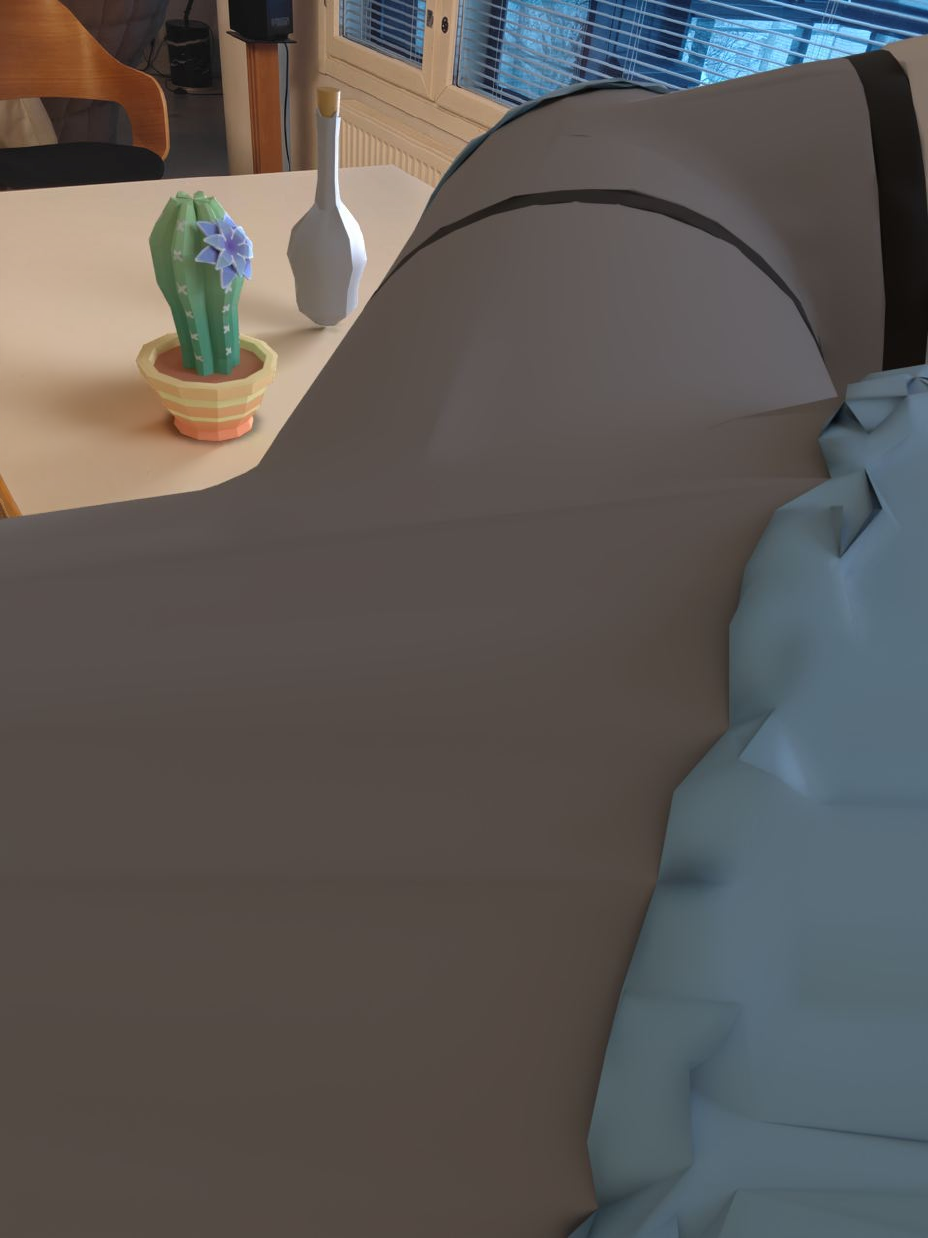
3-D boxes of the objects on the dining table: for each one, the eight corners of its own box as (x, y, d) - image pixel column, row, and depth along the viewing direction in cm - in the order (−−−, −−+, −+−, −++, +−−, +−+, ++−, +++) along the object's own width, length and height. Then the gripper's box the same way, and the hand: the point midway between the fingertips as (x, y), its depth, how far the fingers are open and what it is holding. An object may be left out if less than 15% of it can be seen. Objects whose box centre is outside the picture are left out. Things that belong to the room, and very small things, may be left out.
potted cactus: (149, 460, 93) (114, 218, 77) (140, 394, 104) (107, 168, 88) (292, 450, 98) (287, 220, 82) (269, 388, 109) (261, 173, 93)
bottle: (351, 309, 131) (357, 81, 111) (376, 340, 123) (387, 101, 104) (278, 313, 127) (271, 76, 107) (299, 345, 119) (296, 97, 100)
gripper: (-243, 737, 23) (203, 750, 43) (610, 1369, 15) (668, 1023, 35) (-117, 485, 23) (268, 615, 43) (789, 978, 15) (745, 857, 35)
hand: (447, 798), depth 39 cm, fingers open, 13 cm apart
